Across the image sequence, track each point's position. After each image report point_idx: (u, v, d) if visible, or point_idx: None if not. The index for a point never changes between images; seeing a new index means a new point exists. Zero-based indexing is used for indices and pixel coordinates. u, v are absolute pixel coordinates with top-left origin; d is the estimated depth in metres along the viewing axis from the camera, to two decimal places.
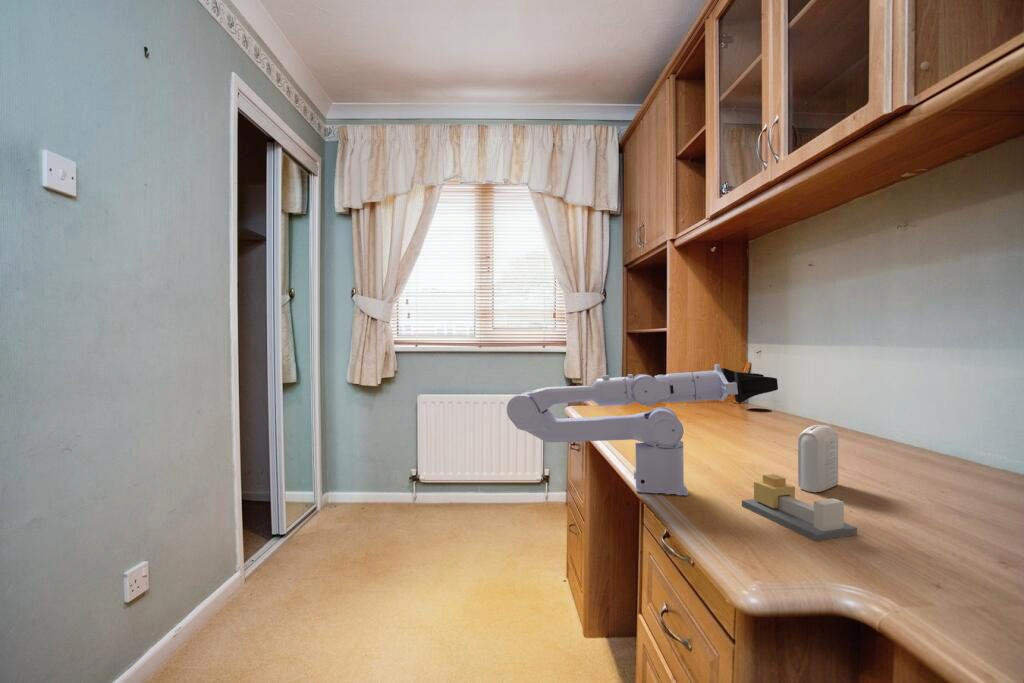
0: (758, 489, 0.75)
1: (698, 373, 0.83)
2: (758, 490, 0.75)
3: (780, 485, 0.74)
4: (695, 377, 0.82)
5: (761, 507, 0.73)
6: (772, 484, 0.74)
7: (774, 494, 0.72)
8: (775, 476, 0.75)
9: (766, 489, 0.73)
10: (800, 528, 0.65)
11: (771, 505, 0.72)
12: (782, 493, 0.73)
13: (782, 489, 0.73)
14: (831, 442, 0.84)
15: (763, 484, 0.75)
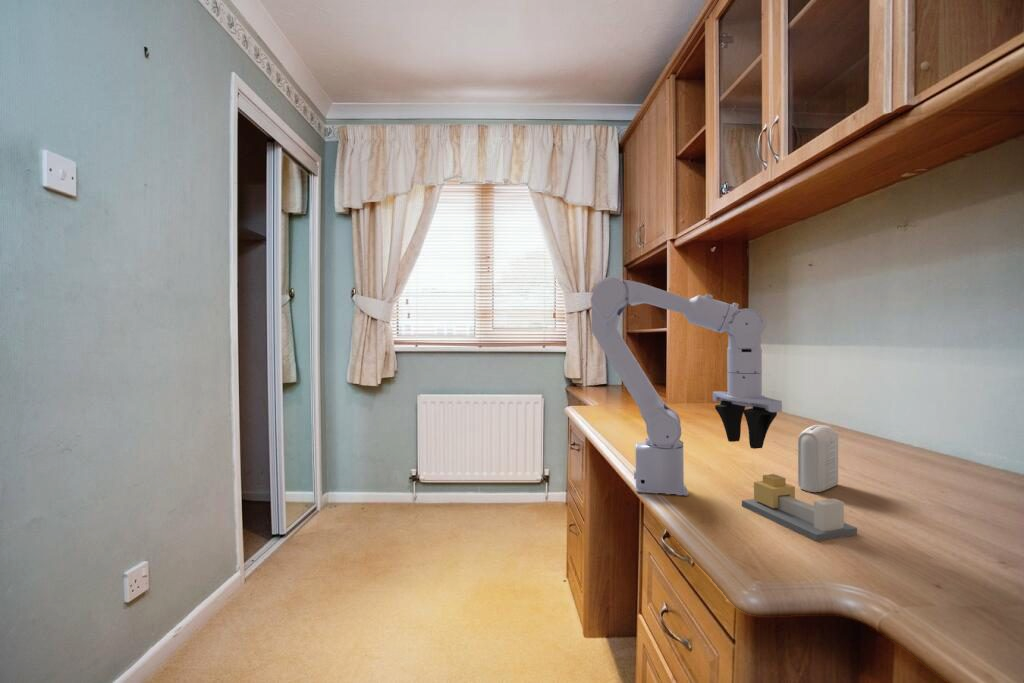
0: (758, 489, 0.75)
1: None
2: (758, 490, 0.75)
3: (780, 485, 0.74)
4: (761, 374, 0.79)
5: (761, 507, 0.73)
6: (772, 484, 0.74)
7: (774, 494, 0.72)
8: (775, 476, 0.75)
9: (766, 489, 0.73)
10: (800, 528, 0.65)
11: (771, 505, 0.72)
12: (782, 493, 0.73)
13: (782, 489, 0.73)
14: (831, 442, 0.84)
15: (763, 484, 0.75)
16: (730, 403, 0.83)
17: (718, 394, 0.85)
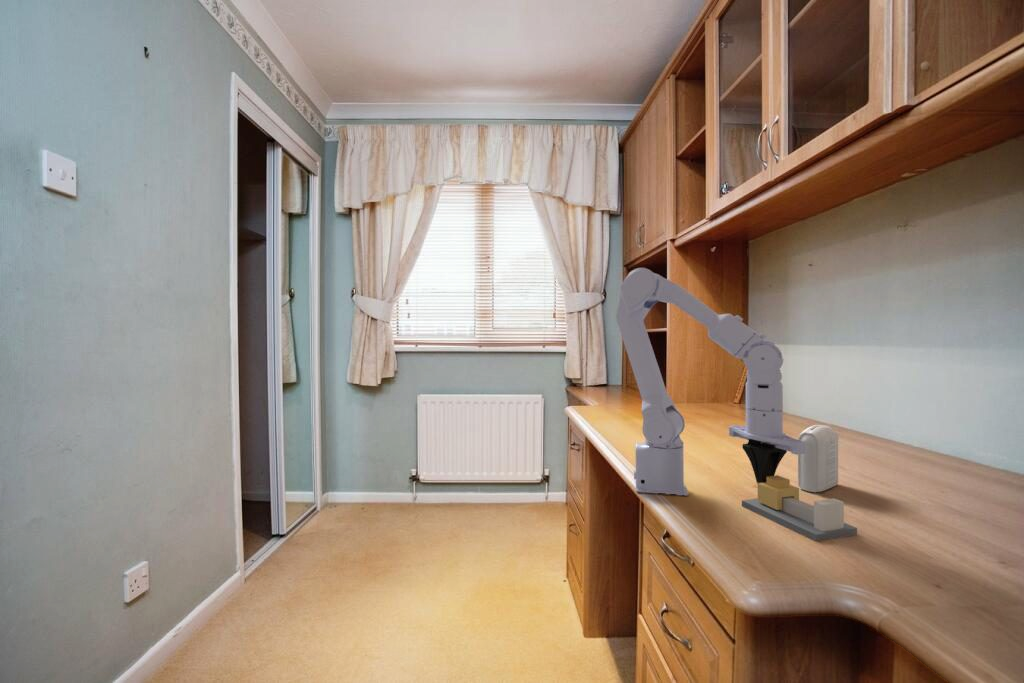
0: (762, 491, 0.74)
1: None
2: (762, 492, 0.74)
3: (784, 486, 0.73)
4: (782, 411, 0.75)
5: (761, 507, 0.73)
6: (776, 485, 0.73)
7: (778, 496, 0.71)
8: (779, 477, 0.74)
9: (770, 491, 0.73)
10: (800, 528, 0.65)
11: (775, 507, 0.72)
12: (786, 495, 0.72)
13: (786, 491, 0.72)
14: (831, 442, 0.84)
15: (767, 485, 0.74)
16: None
17: (735, 429, 0.81)
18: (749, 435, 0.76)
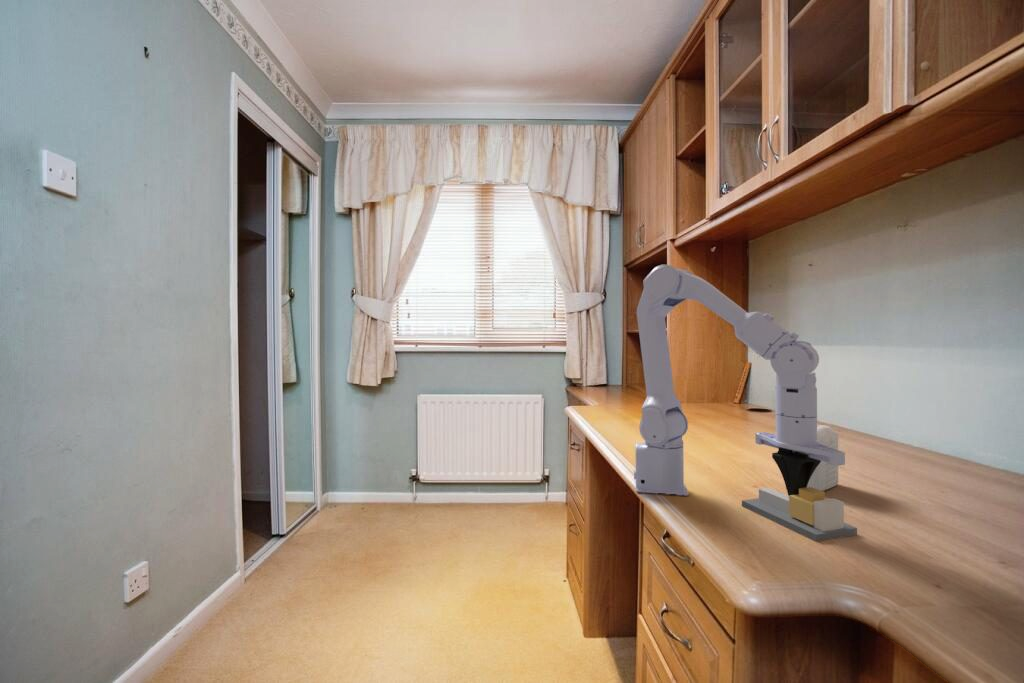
0: (794, 504, 0.68)
1: None
2: (794, 505, 0.68)
3: (819, 499, 0.67)
4: (816, 418, 0.69)
5: (761, 507, 0.73)
6: (810, 499, 0.67)
7: (813, 510, 0.65)
8: (813, 489, 0.68)
9: (804, 504, 0.67)
10: (800, 528, 0.65)
11: (810, 522, 0.66)
12: None
13: None
14: (831, 442, 0.84)
15: (800, 498, 0.68)
16: (778, 448, 0.73)
17: (763, 437, 0.75)
18: (780, 443, 0.70)
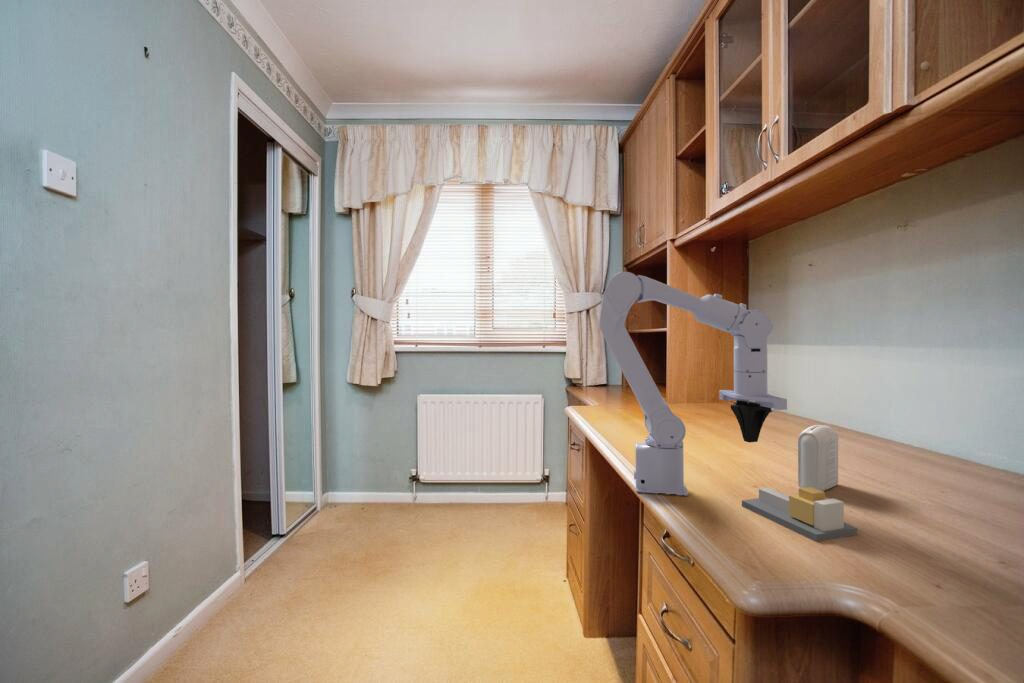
0: (794, 504, 0.68)
1: None
2: (794, 505, 0.68)
3: (819, 499, 0.67)
4: None
5: (761, 507, 0.73)
6: (810, 499, 0.67)
7: (813, 510, 0.65)
8: (813, 489, 0.68)
9: (804, 504, 0.67)
10: (800, 528, 0.65)
11: (810, 522, 0.66)
12: None
13: None
14: (831, 442, 0.84)
15: (800, 498, 0.68)
16: (736, 401, 0.86)
17: (725, 392, 0.88)
18: (736, 395, 0.83)
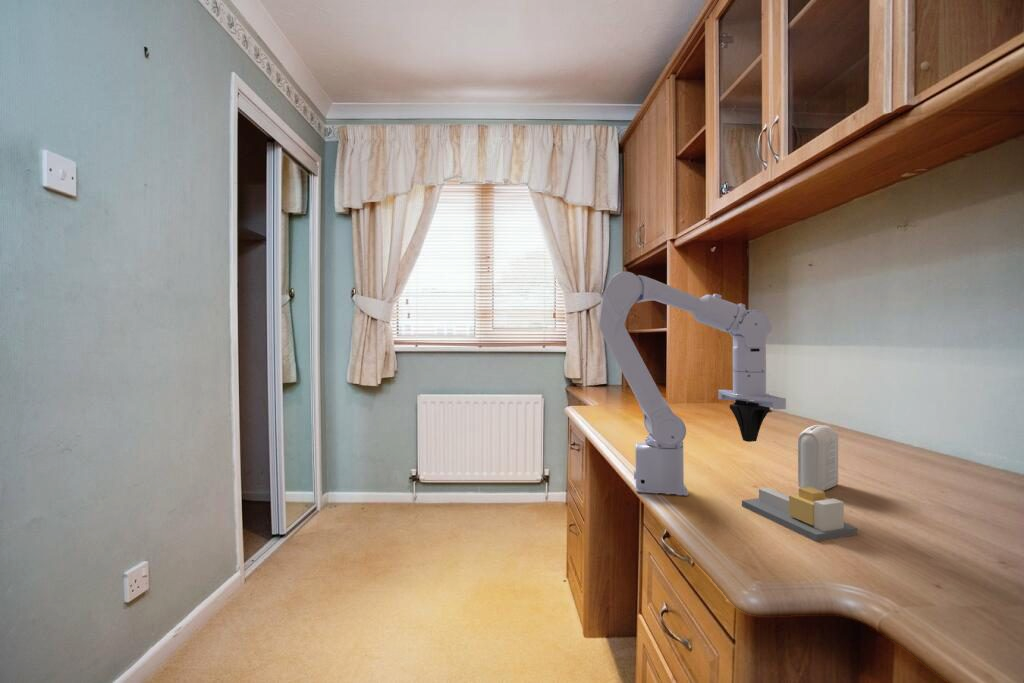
0: (794, 504, 0.68)
1: None
2: (794, 505, 0.68)
3: (819, 499, 0.67)
4: (765, 373, 0.82)
5: (761, 507, 0.73)
6: (810, 499, 0.67)
7: (813, 510, 0.65)
8: (813, 489, 0.68)
9: (804, 504, 0.67)
10: (800, 528, 0.65)
11: (810, 522, 0.66)
12: None
13: None
14: (831, 442, 0.84)
15: (800, 498, 0.68)
16: (735, 401, 0.86)
17: (723, 392, 0.88)
18: (735, 395, 0.83)
